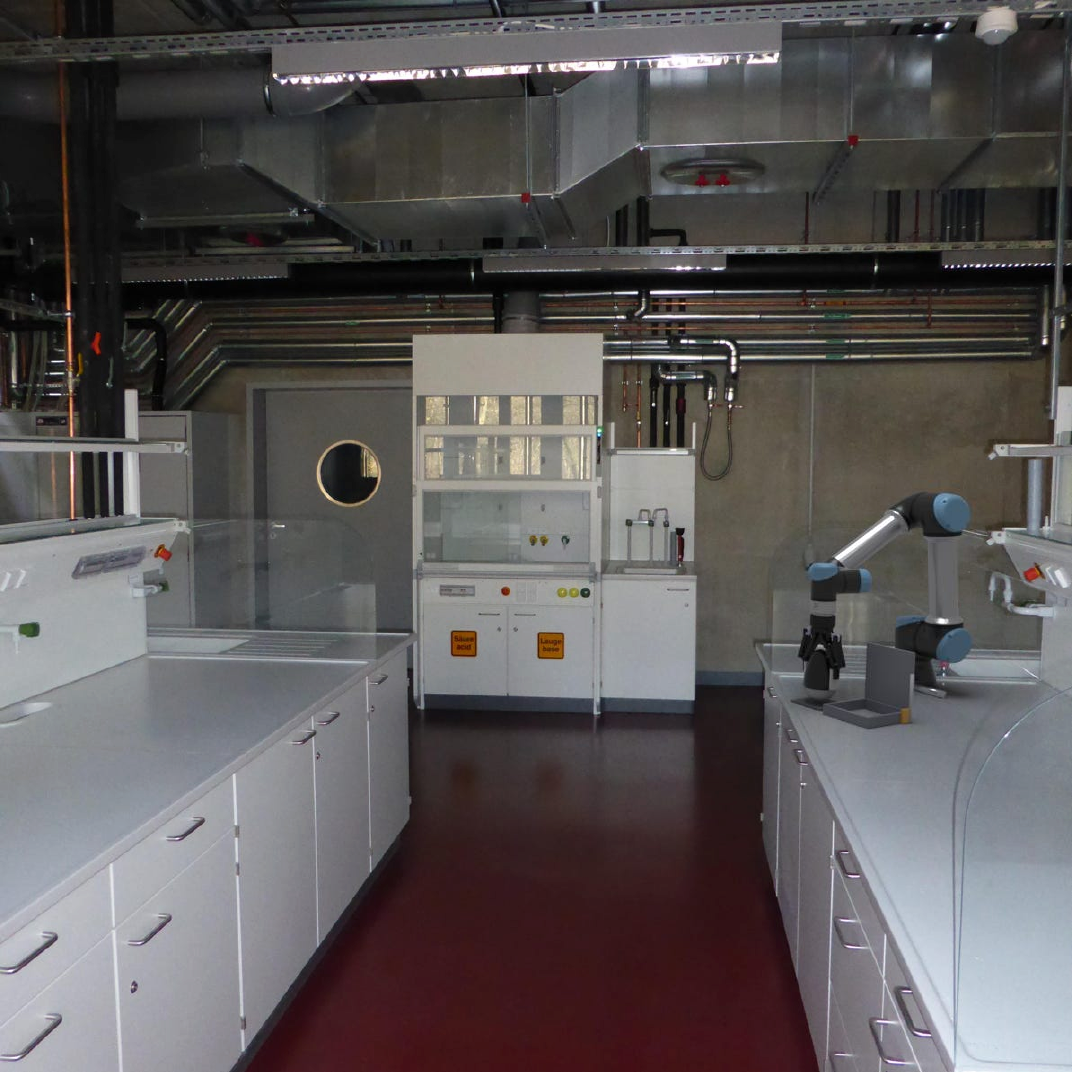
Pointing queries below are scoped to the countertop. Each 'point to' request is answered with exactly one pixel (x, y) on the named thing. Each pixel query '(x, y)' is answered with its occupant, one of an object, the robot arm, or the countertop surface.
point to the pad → (813, 703)
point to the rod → (930, 691)
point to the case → (881, 689)
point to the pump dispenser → (818, 676)
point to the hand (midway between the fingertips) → (820, 685)
